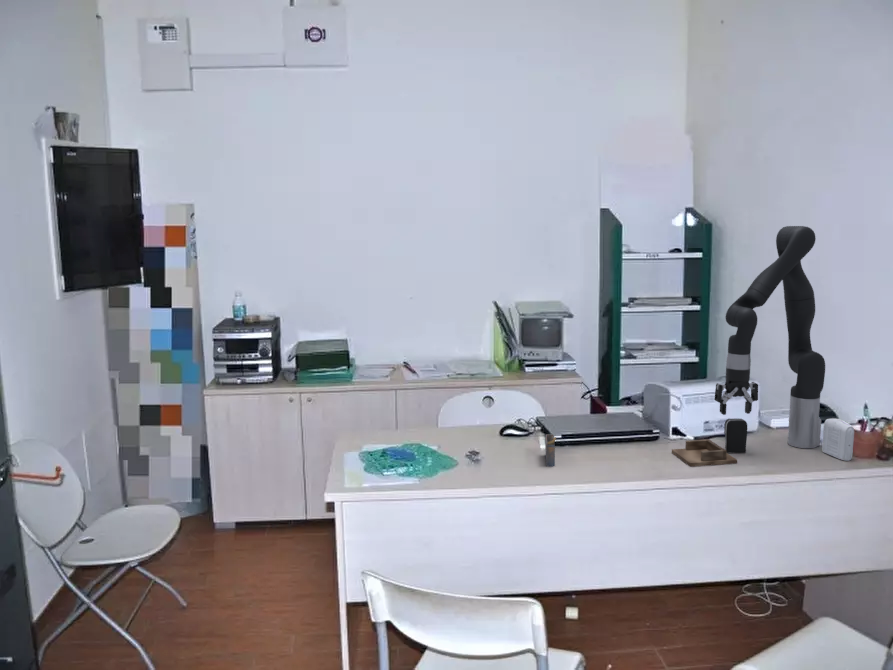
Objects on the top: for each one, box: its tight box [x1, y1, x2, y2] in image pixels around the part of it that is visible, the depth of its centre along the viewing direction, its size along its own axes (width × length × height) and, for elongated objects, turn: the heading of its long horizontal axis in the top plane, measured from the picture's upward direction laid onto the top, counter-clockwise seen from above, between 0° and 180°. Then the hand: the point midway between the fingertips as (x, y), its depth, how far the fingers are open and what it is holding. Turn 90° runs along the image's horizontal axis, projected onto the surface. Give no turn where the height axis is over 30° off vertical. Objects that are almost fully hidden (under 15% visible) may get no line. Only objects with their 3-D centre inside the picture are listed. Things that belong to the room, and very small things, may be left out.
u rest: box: [671, 438, 738, 468], centre depth 255 cm, size 16×14×4 cm
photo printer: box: [821, 417, 855, 462], centre depth 253 cm, size 10×4×12 cm, turn 17°
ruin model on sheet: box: [545, 433, 557, 468], centre depth 255 cm, size 11×3×10 cm, turn 175°
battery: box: [723, 418, 748, 454], centre depth 260 cm, size 7×4×11 cm, turn 88°
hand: (735, 413), depth 258 cm, fingers open, 8 cm apart
